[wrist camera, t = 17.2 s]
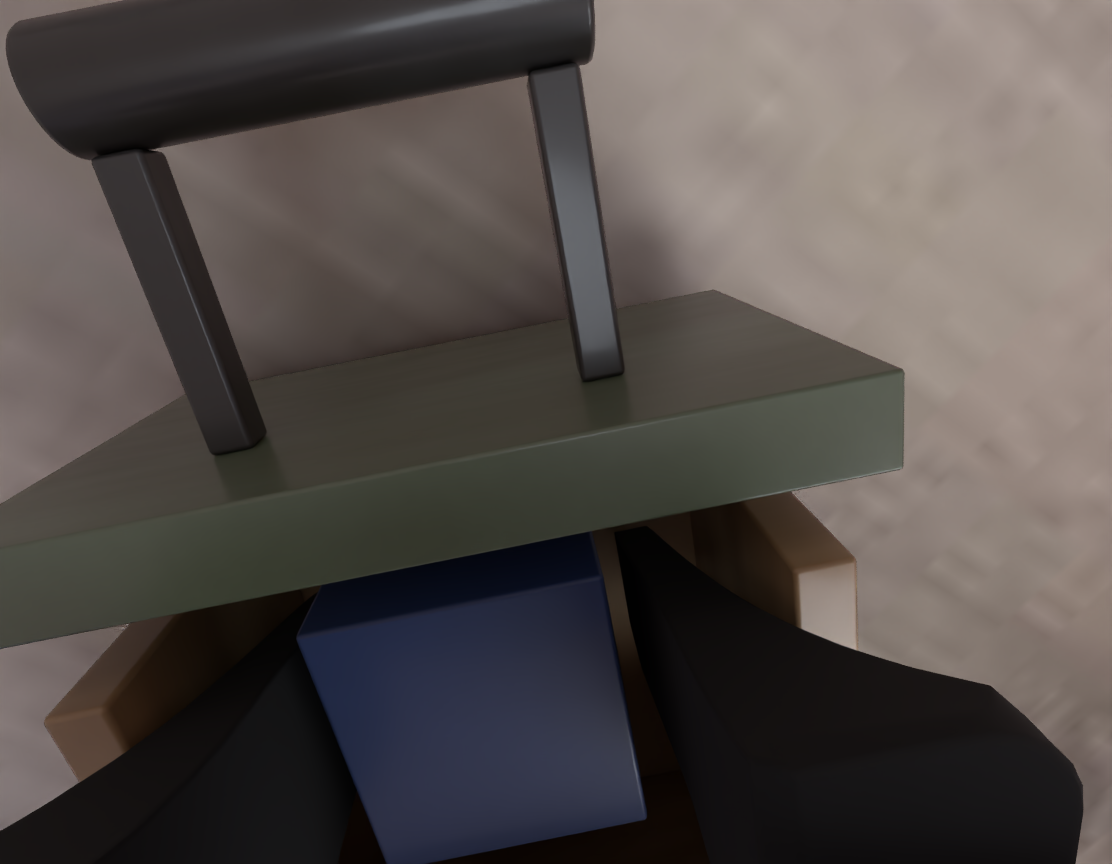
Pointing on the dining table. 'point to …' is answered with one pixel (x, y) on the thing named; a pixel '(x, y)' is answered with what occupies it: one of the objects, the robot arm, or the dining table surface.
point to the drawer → (407, 396)
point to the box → (478, 699)
